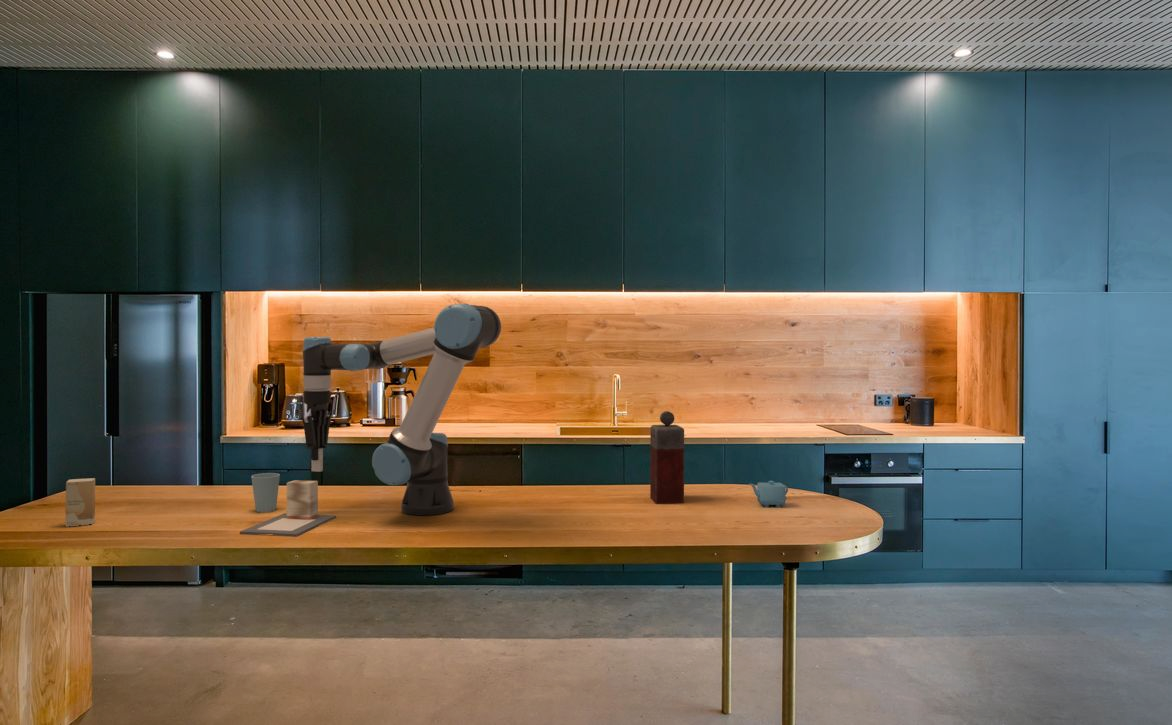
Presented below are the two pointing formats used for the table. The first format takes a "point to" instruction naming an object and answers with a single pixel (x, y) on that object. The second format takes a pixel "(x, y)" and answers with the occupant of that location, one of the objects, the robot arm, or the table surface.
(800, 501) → the table surface
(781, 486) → the teapot
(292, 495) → the block
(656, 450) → the pepper mill
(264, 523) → the mat
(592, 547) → the table surface
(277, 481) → the cup
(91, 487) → the skincare box
